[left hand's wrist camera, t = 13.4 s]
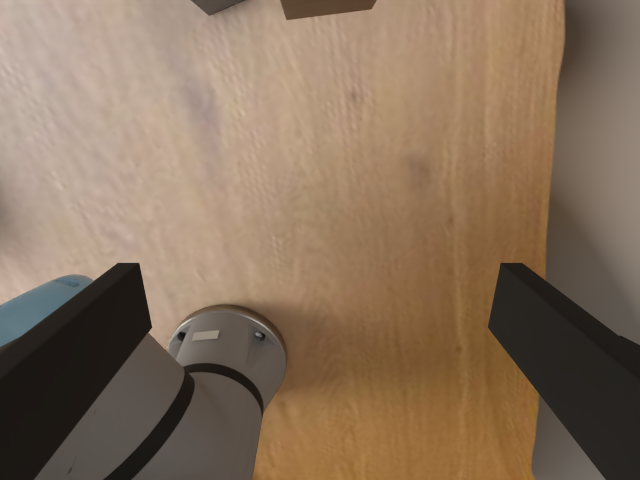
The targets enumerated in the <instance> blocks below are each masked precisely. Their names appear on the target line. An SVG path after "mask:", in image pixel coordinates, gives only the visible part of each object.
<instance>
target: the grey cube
mask: <svg viewBox="0 0 640 480" xmlns="http://www.w3.org/2000/svg"><path fill="white" fill-rule="evenodd" d="M191 1H192V2H194V3H195V4H196V5H197V6H198V7H199V8H201V9H202V10H203V11H204V12H205V13H206V14H208V15H211V14H214V13H216V12H218V11H220V10H223V9H225V8H227V7H229V6H232V5H234V4H236V3H239V2H241V1H243V0H191Z"/></svg>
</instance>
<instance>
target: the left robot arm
mask: <svg viewBox="0 0 640 480" xmlns="http://www.w3.org/2000/svg"><path fill="white" fill-rule="evenodd" d="M151 328H152V325H151V320H150V315H149V310H148V305H147V300H146V295H145V290H144V285H143V280H142V275H141V270H140V265H139V263H117V264H116V265H115V266H113V267H112V268H111V269H109V270H108V271H107V272H105V273H104V274H103V275H101V276H100V277H99V278H97V279H96V280H95V281H94V280H92V279H91V278H89V277H86V276H83V275H67V276H63V277H60V278H57V279H54V280H52V281H50V282H47V283H45V284H43V285H41V286H39V287H37V288H34V289H32V290H30V291H28V292H26V293H24V294H22V295H20V296H18V297H16V298H14V299H12V300H10V301H8V302H6V303H4V304H2V305H0V480H252V476H253V470H254V464H255V458H256V452H257V446H258V440H259V435H260V429H261V423H262V417H263V412H264V411H265V409H266V407H267V406H268V404H269V403H270V401H271V399H272V398H273V396H274V395H275V393H276V391H277V390H278V388H279V387H280V385H281V383H282V381H283V378H284V375H285V371H286V363H287V350H286V345H285V342H284V340H283V338H282V336H281V334H280V333H279V331H278V330H277V329H276V327H275V326H274V325H273V324H272V323H271V322H270V321H268V320H267V319H266V318H264V317H263V316H261V315H260V314H258V313H256V312H254V311H252V310H249V309H246V308H243V307H238V306H232V305H216V306H210V307H206V308H203V309H200V310H198V311H196V312H194V313H192V314H191V315H189V316H188V317H187V318H186V319H184V320H183V322H182V323H181V324H180V325H179V327H178V328H177V329H176V331H175V333H174V334H173V336H172V337H171V339H170V341H169V344H168V348H167V351H166V350H165V349H164V348H163V347H162V346H161V345H160V344H159V343H158V342H157V341H156V340H155V339H154V338H153V337H152V336H151V335H150V334H149V333H148V332H149V331H150V329H151ZM488 328H489V329H490V331H491V332H492V333H493V335H494V336H495V337H496V338H497V340H498V341H499V342H500V344H501V345H502V346H503V348H504V349H505V350H506V351H507V353H508V354H509V355H510V357H511V358H512V359H513V360H514V362H515V363H516V364H517V366H518V367H519V368H520V369H521V371H522V372H523V373H524V375H525V376H526V377H527V379H528V380H529V381H530V382H531V384H532V385H533V386H534V388H535V389H536V390H537V391H538V393H539V394H540V395H541V397H542V398H543V399H544V400H545V402H546V403H547V404H548V406H549V407H550V408H551V409H552V411H553V412H554V413H555V415H556V416H557V417H558V418H559V420H560V421H561V422H562V424H563V425H564V426H565V428H566V429H567V430H568V431H569V433H570V434H571V435H572V437H573V438H574V439H575V440H576V442H577V443H578V444H579V446H580V447H581V448H582V450H583V451H584V452H585V453H586V455H587V456H588V457H589V458H590V460H591V461H592V462H593V464H594V465H595V466H596V468H597V469H598V470H599V471H600V473H601V474H602V475H603V477H604V478H605V479H606V480H640V345H638V344H636V343H634V342H632V341H630V340H628V339H626V338H624V337H622V336H618V335H617V334H615V333H614V332H613V331H611V330H610V329H609V328H607V327H606V326H605V325H604V324H602V323H601V322H600V321H598V320H597V319H596V318H594V317H593V316H592V315H590V314H589V313H588V312H586V311H585V310H584V309H582V308H581V307H580V306H578V305H577V304H576V303H574V302H573V301H572V300H570V299H569V298H568V297H566V296H565V295H564V294H562V293H561V292H560V291H558V290H557V289H556V288H554V287H553V286H552V285H550V284H549V283H548V282H546V281H545V280H544V279H543V278H541V277H540V276H539V275H537V274H536V273H535V272H533V271H532V270H531V269H529V268H528V267H527V266H525V265H524V264H523V263H501V265H500V270H499V275H498V280H497V285H496V290H495V295H494V300H493V305H492V310H491V315H490V320H489V325H488Z"/></svg>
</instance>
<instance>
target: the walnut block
mask: <svg viewBox="0 0 640 480" xmlns="http://www.w3.org/2000/svg"><path fill="white" fill-rule="evenodd" d="M280 1H281V4H282V7H283V10H284V14H285V17H286V20H291V19H299V18H307V17H314V16H322V15H330V14H338V13H346V12H354V11H361V10H369V9H372V7H373V6H374V4H375V2H376V0H280Z"/></svg>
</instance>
